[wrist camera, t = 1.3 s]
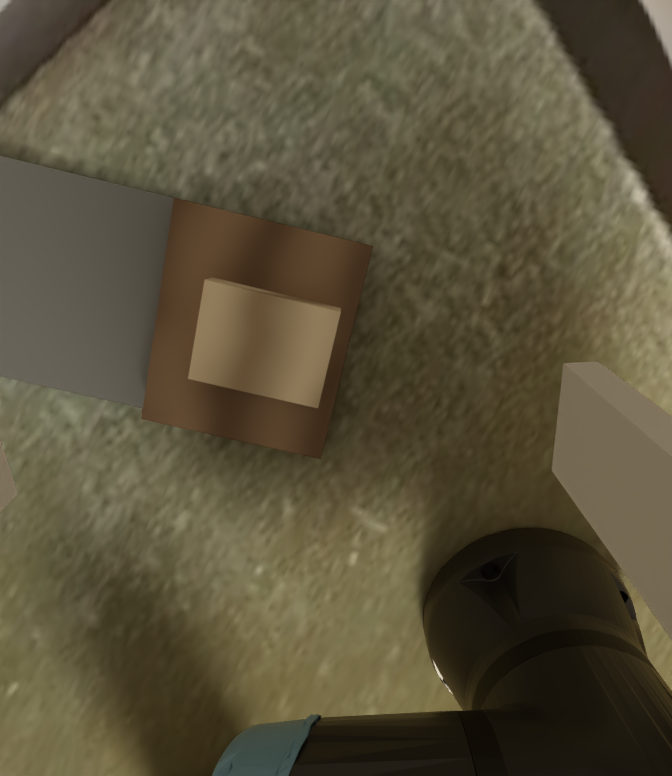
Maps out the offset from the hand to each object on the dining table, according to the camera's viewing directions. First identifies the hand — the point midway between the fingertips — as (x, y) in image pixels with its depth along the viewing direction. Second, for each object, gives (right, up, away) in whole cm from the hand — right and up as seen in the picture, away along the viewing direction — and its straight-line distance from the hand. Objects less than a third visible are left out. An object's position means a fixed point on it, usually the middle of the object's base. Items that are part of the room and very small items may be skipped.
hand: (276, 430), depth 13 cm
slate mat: (-17, +8, +23) cm, 29 cm away
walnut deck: (-4, +5, +24) cm, 24 cm away
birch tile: (-3, +4, +21) cm, 22 cm away
